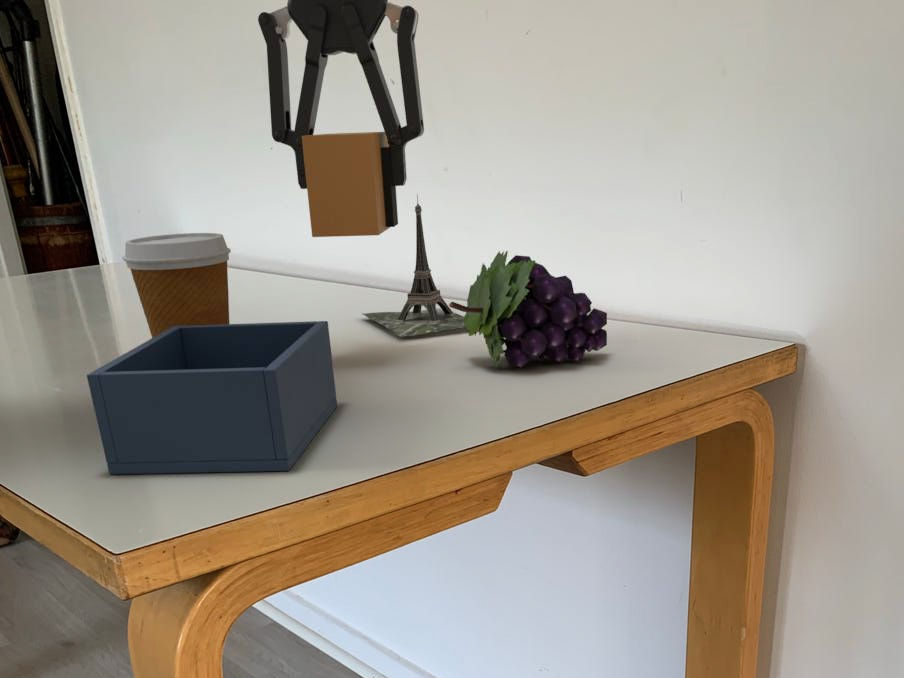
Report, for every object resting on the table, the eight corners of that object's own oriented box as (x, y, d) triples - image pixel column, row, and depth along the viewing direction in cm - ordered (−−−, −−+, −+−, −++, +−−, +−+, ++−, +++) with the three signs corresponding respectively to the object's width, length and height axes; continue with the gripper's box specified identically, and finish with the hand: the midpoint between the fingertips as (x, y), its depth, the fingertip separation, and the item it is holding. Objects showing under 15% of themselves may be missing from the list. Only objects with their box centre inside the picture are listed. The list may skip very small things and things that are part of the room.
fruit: (605, 398, 91) (452, 374, 86) (570, 356, 99) (428, 332, 94) (642, 288, 86) (480, 255, 81) (601, 253, 94) (452, 221, 89)
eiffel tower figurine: (359, 318, 116) (346, 194, 110) (439, 309, 119) (432, 188, 113) (400, 340, 104) (389, 202, 97) (488, 329, 107) (483, 194, 101)
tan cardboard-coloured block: (312, 237, 87) (301, 135, 84) (336, 224, 97) (328, 133, 93) (378, 235, 87) (371, 133, 83) (397, 223, 97) (390, 131, 93)
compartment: (109, 474, 68) (86, 374, 64) (188, 410, 82) (173, 325, 79) (289, 471, 67) (275, 369, 63) (337, 406, 81) (327, 320, 78)
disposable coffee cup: (189, 389, 89) (163, 246, 83) (126, 377, 94) (97, 242, 88) (269, 367, 95) (250, 233, 90) (205, 357, 100) (184, 231, 95)
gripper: (449, -76, 84) (461, 219, 94) (231, -64, 85) (267, 225, 96) (440, -92, 77) (454, 227, 88) (203, -79, 79) (245, 233, 89)
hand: (356, 226), depth 92 cm, fingers closed on tan cardboard-coloured block, 6 cm apart
